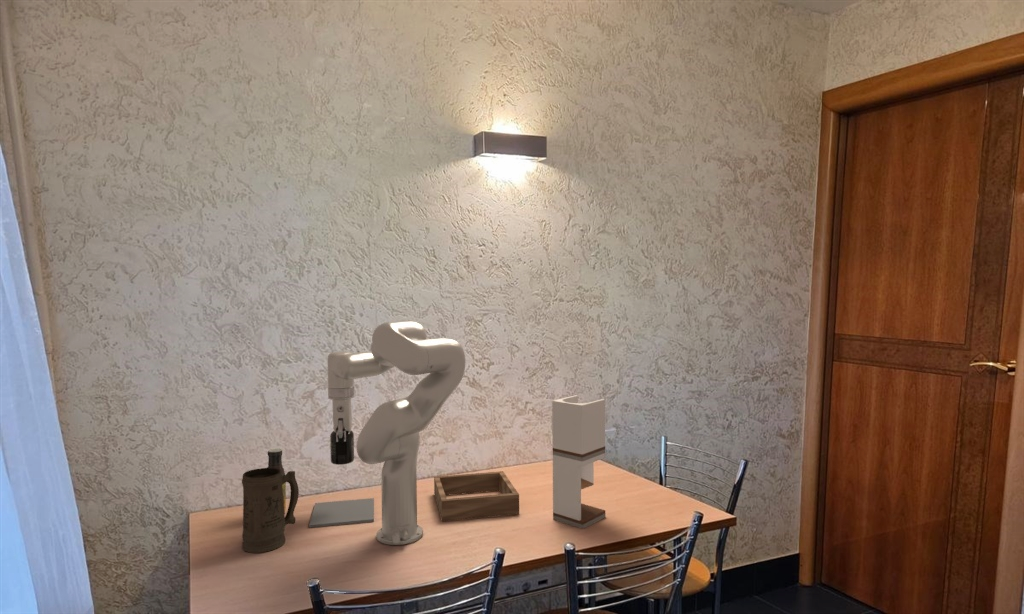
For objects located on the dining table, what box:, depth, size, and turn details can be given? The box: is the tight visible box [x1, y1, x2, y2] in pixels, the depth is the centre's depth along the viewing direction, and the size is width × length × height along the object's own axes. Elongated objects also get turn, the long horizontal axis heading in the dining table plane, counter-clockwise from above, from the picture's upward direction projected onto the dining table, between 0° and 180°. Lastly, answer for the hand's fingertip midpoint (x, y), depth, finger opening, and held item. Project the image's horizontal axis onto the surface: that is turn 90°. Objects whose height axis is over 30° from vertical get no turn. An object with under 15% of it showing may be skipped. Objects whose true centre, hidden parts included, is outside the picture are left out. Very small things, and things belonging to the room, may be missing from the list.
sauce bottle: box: [267, 448, 287, 515], centre depth 181 cm, size 6×6×20 cm
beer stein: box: [241, 467, 300, 554], centre depth 162 cm, size 15×11×20 cm
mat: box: [308, 497, 375, 529], centre depth 183 cm, size 18×18×1 cm
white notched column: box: [551, 394, 606, 530], centre depth 177 cm, size 11×11×35 cm
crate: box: [433, 471, 520, 522], centre depth 189 cm, size 23×23×6 cm
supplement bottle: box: [329, 426, 355, 466], centre depth 182 cm, size 7×7×12 cm
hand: (342, 450), depth 182 cm, fingers closed on supplement bottle, 6 cm apart
